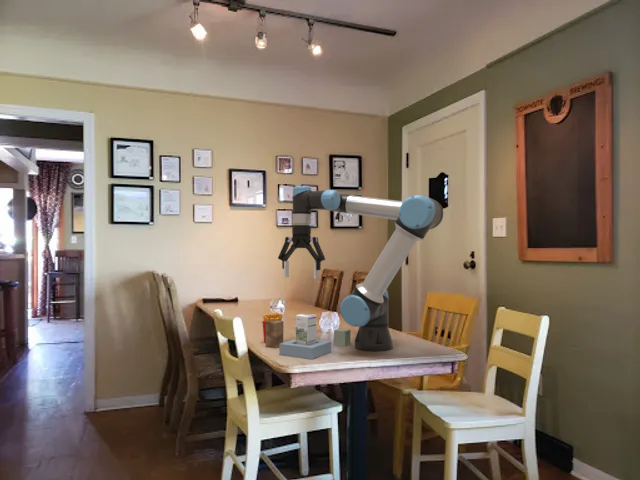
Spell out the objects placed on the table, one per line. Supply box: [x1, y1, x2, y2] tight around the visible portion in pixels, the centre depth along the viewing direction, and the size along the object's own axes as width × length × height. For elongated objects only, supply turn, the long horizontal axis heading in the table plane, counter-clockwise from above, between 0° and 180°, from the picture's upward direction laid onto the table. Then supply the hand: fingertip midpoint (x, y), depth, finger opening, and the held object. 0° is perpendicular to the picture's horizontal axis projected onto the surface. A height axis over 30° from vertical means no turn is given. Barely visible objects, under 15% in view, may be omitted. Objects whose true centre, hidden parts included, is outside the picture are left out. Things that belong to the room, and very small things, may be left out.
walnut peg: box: [265, 320, 284, 349], centre depth 192 cm, size 5×5×10 cm
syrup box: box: [295, 313, 317, 346], centre depth 180 cm, size 6×6×14 cm
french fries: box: [261, 312, 284, 344], centre depth 201 cm, size 8×4×12 cm, turn 119°
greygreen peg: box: [333, 328, 352, 347], centre depth 197 cm, size 5×5×6 cm
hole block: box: [278, 338, 332, 360], centre depth 180 cm, size 14×14×4 cm
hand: (300, 278), depth 193 cm, fingers open, 13 cm apart
